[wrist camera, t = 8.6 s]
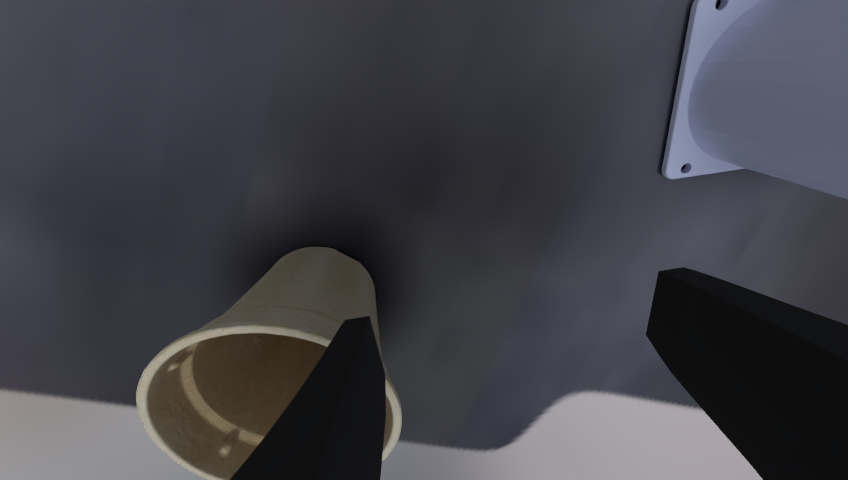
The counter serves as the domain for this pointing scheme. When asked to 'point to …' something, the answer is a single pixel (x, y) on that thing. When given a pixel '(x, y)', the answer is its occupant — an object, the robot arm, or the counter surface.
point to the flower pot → (255, 363)
